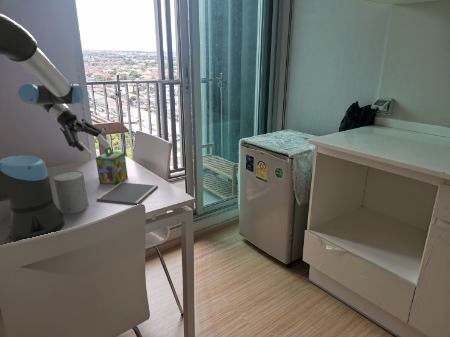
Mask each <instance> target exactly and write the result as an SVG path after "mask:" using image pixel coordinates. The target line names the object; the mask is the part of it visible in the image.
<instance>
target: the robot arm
mask: <svg viewBox="0 0 450 337" xmlns="http://www.w3.org/2000/svg"><path fill="white" fill-rule="evenodd" d="M0 55H1V56H5V57H7V59H8V60H10V61H12V62H14V63H18V64H19V65H21V67H22V68H23V69H25V70H26V71H27V72H28V73H29V74H30V75H31V76H32V77H34V78H35V79H36V80H37V81H38V82H39V83H37V84H34V83H29V82H27V83H26V82H25V83H23V84H21V85H20V86H19V87H18V90H17V95H18V98H19V99H20V101H22V102H24V103H26V104H28V105H35V106H39V107H42V108H43V109H44V110H45V111H46V112H47V113H48V114H49V115H50V116H51V117H52V118H53V119H54V120H55V121H57V124H59V125H60V128H59V130H60V131H61V132H62V133H63V136H64V138H65V141H66V142H67V144H68V146H69V147H72V148H74V149H75V148H76V149H77V150H78V151H80V152H82V153H83V155H84V156H85V157H86V158H89V157H90V156H92V154H93V152H92V151H91V150H90V149H88V147H87V146H86V145H84V143H83V142H82V141H80V142H79V137H78V133H80V132H82V133H85V134H88V135H91V136H93V137H95V138H96V140H97V141H98V142H99V143H100V144H101V145H102V146H103V147H104V149H106V148H107V147H109V146H110V147H111V143H110V142H109V141H108V140H107V139H106V138H105V137H104V136H103V135H102V132H103V130H102V129H100V128H98V127H97V126H95V125H93V124H91V123H90V122H89V121H88V120H86V119H85V118H82V119H80V120H79V119H78V116H77V114H76V113H75V112H74V111H73V110H72V109H70V107H69V106H68V105H67V104H69V105H70V104H71V105H75V104H81V103H82V102H83V101H84V95H85V94H84V89H83V87H82V86H81V85H80V84H78V83H71V82H70V81H68V79H67V78H66V77H65V76H64V75H63V74H62V73H61V72H60V70H59V69H58V68H57V67H56V66H55V65H54V64H53V63H52V61H51V60H50V59H49V58H48V57H47V56H46V55H45V54H44V53H43V51H42V50H41V49H40V48H39V47H38V43H37V39H35V37H33V35H32V34H31V33H30V32H29V31H28V30H27V29H26V28H24V27H23V26H22V25H21V24H19V23H18V22H16V21H15V20H14V19H11V18H10V17H8V16H7V15H5V14H3V13H0ZM46 165H47V164H46V162H45V161H44V160H43V159H42V158H40V157H38V156H34V155H27V154H26V155H23V154H22V155H21V154H20V155H12V156H6V157H4V158H0V202H7V203H8V206H9V209H10V223H9V226H8V233H9V237H10V239H12V240H14V241H15V242H17V241H16V240H22V239H27V238H32V237H36V236H40V235H44V234H48V233H51V232H56V231H58V232H59V231H60V230H62V229H63V228H64V226H65V219H64V216H63V213H62V212H61V211H60V208H59V207H58V206H57V205H56V203H55V201H54V196H53V192H52V187H51V186H52V185H51V182H50V177H49V170H48V168H47V166H46ZM56 233H57V232H56Z"/></svg>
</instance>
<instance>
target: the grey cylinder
mask: <svg viewBox="0 0 450 337" xmlns="http://www.w3.org/2000/svg"><path fill="white" fill-rule="evenodd" d="M84 176H85V175H84V172H83V171H80V170H70V171H65V172H64V171H63V172H61V173H58V174H56V175H55V176H53V181H54V185H55V190H56V191H55V192H56V195H57V200H58V205H59V211H60V213H61V214H76V213H79V212H82V211H86V210H87V209H88V208H89V206H90V204H89V199H88V192H87V187H86V181H85V177H84Z"/></svg>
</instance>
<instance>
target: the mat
mask: <svg viewBox="0 0 450 337" xmlns="http://www.w3.org/2000/svg"><path fill="white" fill-rule="evenodd" d="M158 188H159V186H158V185H157V184H145V183H133V182H132V183H131V182H123V181H122V182H120V183H119V184H115V185H114V186H113V187H111V188H110V189H108V190H107V191H105V192H104V193H103V194H101V195H100V196H98V197H97V198H96V199H95V200H96V202H105V203H106V202H107V203H114V204H124V205H132V206H133V205H134V206H137V205H136V204H138V205H139V204H141V203H142V202H143V201H144V200H145V199H146V198H148V197H149V195H151V194H152V193H153V192H154V191H156V190H157V189H158Z"/></svg>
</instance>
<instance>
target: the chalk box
mask: <svg viewBox="0 0 450 337" xmlns="http://www.w3.org/2000/svg"><path fill="white" fill-rule="evenodd" d="M108 151H109V152H108ZM126 161H127V160H126V154H125V152H113V150H112V148H111V145H110V146H109V147H107V148H104V153H102V154H100V155H98V156H96V157H95V164H96V169H97V174H98V175H97V176H98V182H99V184H110V185H111V184H112V185H117V184H119V183H120V182H123V181H125V180H126V179H127V178H128V170H127V169H128V168H127V162H126Z"/></svg>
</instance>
